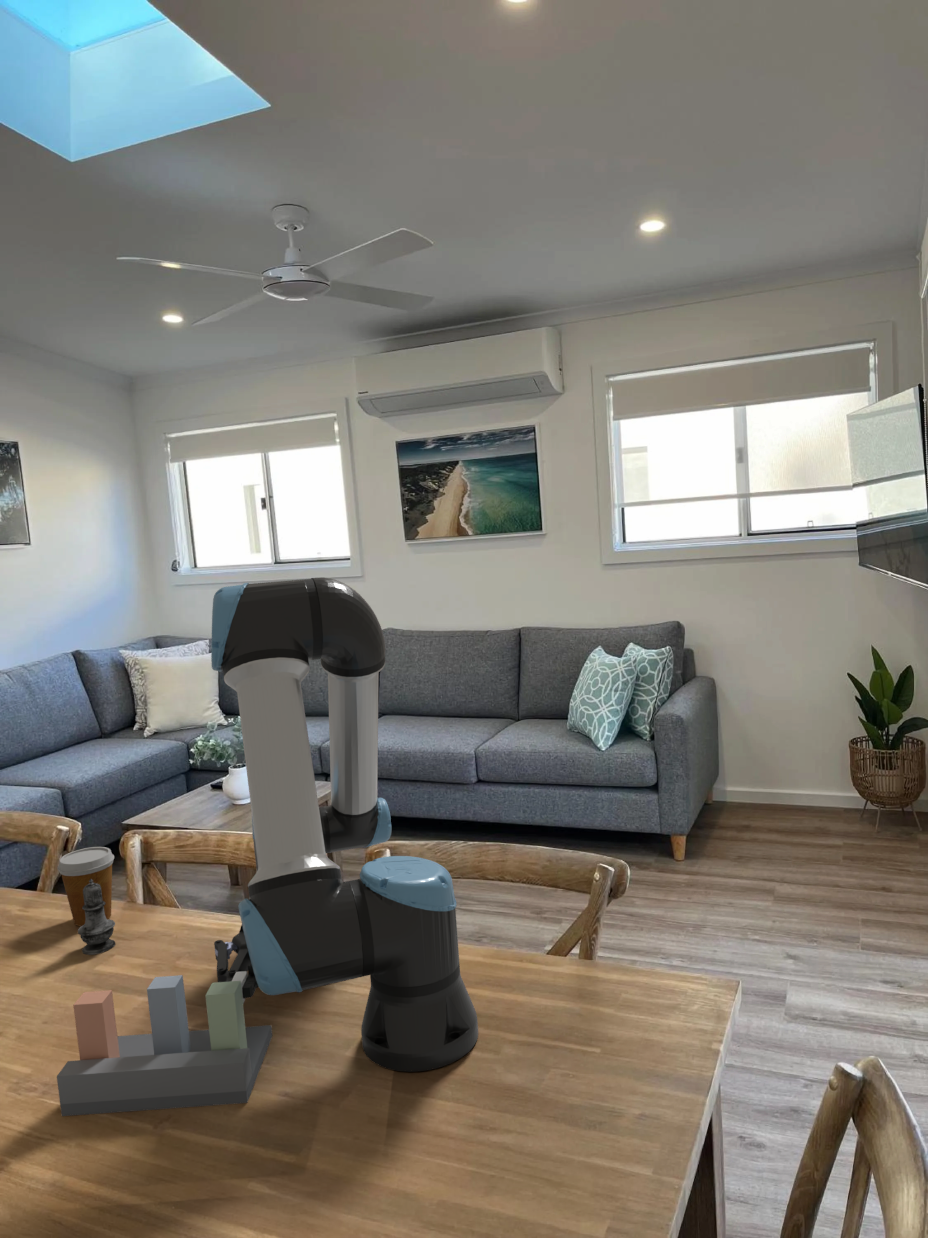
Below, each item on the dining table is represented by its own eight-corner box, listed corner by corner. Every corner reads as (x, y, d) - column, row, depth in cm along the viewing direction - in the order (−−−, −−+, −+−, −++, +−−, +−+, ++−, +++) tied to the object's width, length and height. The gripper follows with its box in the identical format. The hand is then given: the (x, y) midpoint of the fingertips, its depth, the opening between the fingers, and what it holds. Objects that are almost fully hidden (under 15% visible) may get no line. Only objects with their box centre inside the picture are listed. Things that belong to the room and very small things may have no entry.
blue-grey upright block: (190, 1050, 113) (182, 975, 112) (183, 1064, 110) (175, 987, 109) (163, 1051, 113) (155, 977, 112) (155, 1065, 110) (146, 989, 109)
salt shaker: (104, 956, 146) (95, 886, 145) (72, 955, 147) (63, 885, 146) (124, 939, 151) (116, 872, 150) (93, 939, 153) (85, 871, 152)
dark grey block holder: (272, 1035, 118) (268, 1000, 118) (247, 1103, 104) (243, 1063, 104) (108, 1047, 118) (104, 1012, 118) (61, 1116, 104) (56, 1076, 104)
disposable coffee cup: (67, 914, 164) (60, 851, 163) (122, 904, 167) (115, 842, 166) (61, 935, 155) (52, 869, 154) (118, 924, 158) (111, 859, 157)
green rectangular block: (248, 1057, 111) (240, 981, 110) (242, 1071, 108) (234, 993, 107) (220, 1059, 111) (212, 983, 110) (213, 1073, 108) (205, 995, 107)
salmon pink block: (120, 1066, 111) (111, 990, 110) (111, 1081, 108) (102, 1003, 107) (93, 1068, 111) (83, 992, 110) (82, 1083, 108) (73, 1005, 107)
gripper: (315, 944, 134) (284, 1032, 111) (229, 950, 134) (181, 1039, 111) (310, 897, 134) (279, 975, 110) (224, 903, 134) (175, 983, 110)
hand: (230, 1007), depth 111 cm, fingers closed
